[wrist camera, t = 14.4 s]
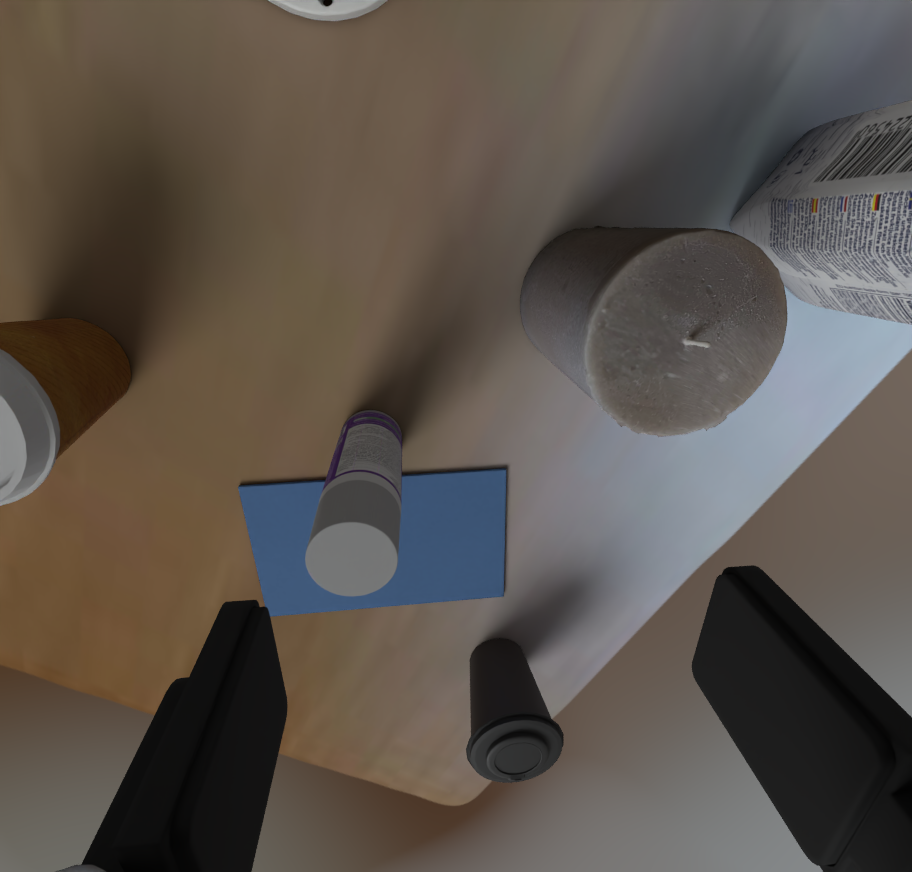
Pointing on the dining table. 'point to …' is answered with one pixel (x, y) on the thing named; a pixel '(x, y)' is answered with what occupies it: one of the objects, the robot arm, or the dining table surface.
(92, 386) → the disposable coffee cup
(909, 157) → the juice carton
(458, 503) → the napkin
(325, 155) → the dining table surface
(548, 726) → the coffee cup
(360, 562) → the container
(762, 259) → the pillar candle
